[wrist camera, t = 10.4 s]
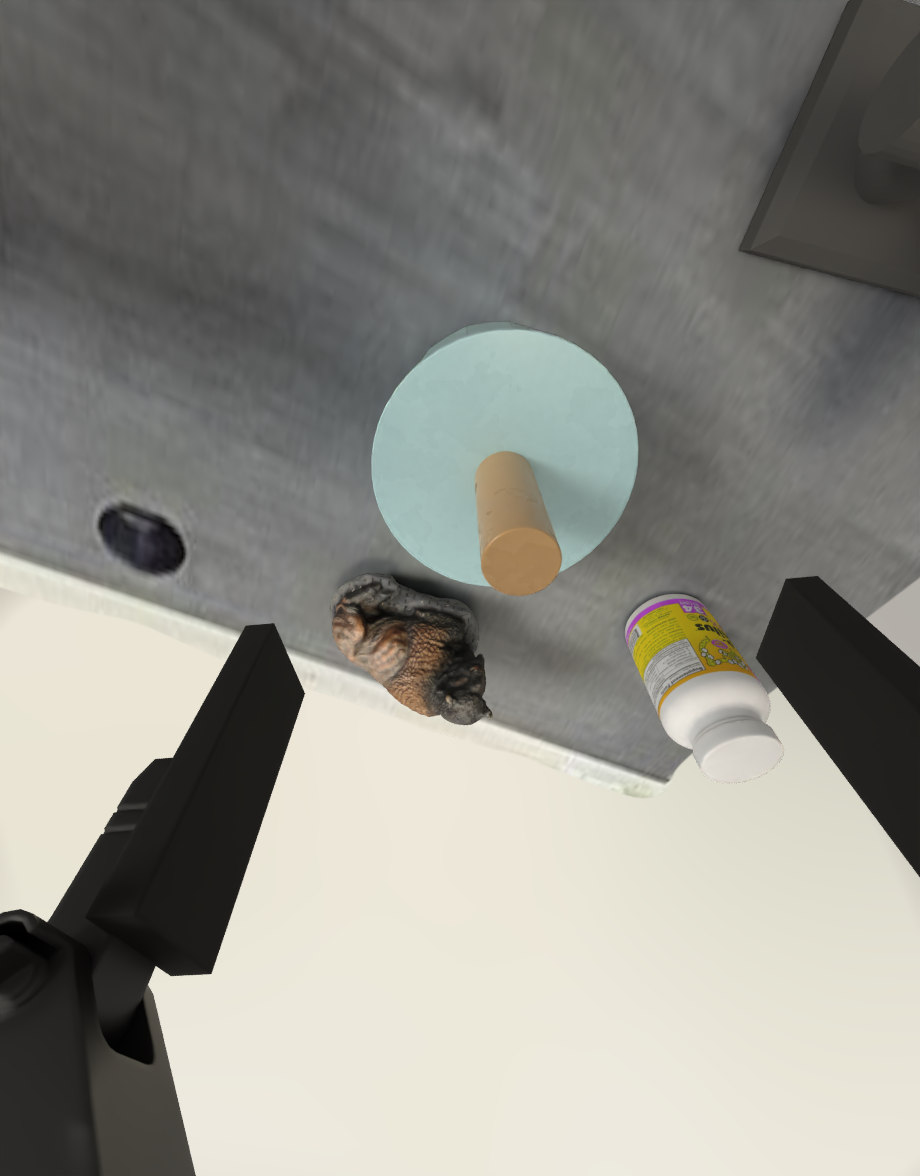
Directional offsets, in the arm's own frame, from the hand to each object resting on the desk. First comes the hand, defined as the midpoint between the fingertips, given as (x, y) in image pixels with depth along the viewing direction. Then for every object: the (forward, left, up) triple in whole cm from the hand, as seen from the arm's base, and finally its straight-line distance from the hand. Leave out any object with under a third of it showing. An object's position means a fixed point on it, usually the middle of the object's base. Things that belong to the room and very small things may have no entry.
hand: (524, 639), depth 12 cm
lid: (0, 0, -12) cm, 12 cm away
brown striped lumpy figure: (+13, -7, -20) cm, 25 cm away
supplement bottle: (+17, +13, -20) cm, 29 cm away
